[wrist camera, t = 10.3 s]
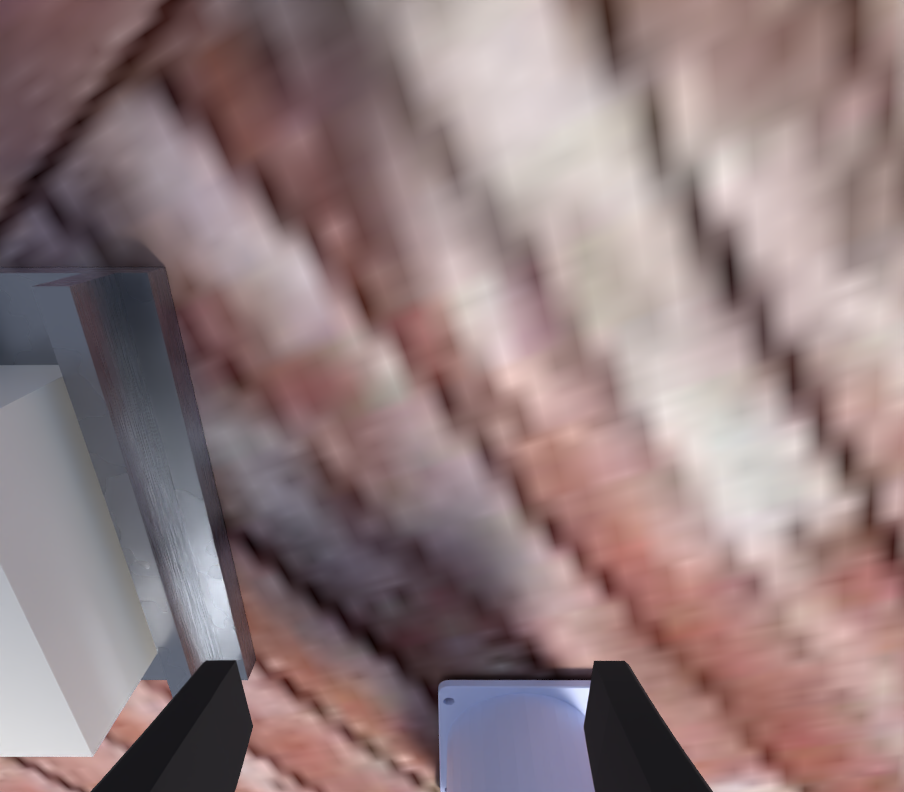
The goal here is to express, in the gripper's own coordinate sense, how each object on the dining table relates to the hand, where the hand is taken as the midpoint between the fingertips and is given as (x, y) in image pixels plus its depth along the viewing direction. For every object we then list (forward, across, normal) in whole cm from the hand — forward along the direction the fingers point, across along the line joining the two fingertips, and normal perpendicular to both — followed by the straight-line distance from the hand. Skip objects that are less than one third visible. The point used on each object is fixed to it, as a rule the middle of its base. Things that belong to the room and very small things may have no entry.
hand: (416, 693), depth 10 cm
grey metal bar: (+8, +13, +2) cm, 16 cm away
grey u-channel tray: (+9, +13, +2) cm, 16 cm away
